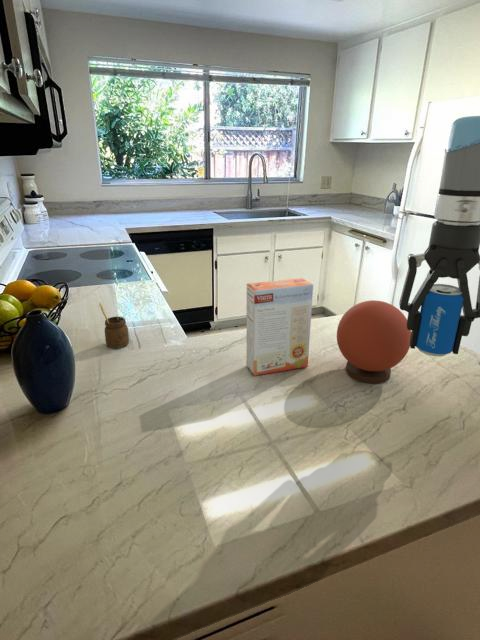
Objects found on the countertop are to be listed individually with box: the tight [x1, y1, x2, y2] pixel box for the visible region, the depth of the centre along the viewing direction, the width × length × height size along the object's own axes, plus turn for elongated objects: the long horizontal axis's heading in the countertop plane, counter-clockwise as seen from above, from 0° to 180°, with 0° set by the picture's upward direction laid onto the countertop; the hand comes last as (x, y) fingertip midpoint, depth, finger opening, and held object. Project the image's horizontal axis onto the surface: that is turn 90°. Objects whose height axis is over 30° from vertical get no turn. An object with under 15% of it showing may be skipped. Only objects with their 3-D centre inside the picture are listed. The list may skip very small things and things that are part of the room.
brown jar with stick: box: [98, 302, 130, 349], centre depth 105 cm, size 6×6×12 cm
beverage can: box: [415, 283, 464, 357], centre depth 72 cm, size 6×6×12 cm
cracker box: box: [246, 277, 314, 377], centre depth 93 cm, size 14×6×21 cm, turn 108°
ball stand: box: [336, 299, 412, 385], centre depth 91 cm, size 16×16×18 cm
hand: (432, 347), depth 75 cm, fingers closed on beverage can, 6 cm apart
